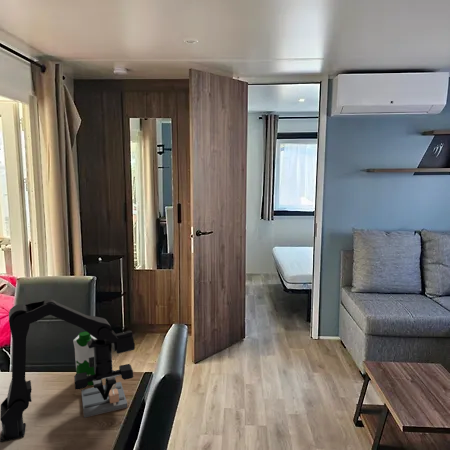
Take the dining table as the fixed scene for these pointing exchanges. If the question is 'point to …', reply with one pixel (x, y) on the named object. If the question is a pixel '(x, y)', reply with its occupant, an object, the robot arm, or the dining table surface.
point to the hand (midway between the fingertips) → (105, 399)
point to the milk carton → (83, 354)
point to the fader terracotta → (113, 396)
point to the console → (101, 401)
